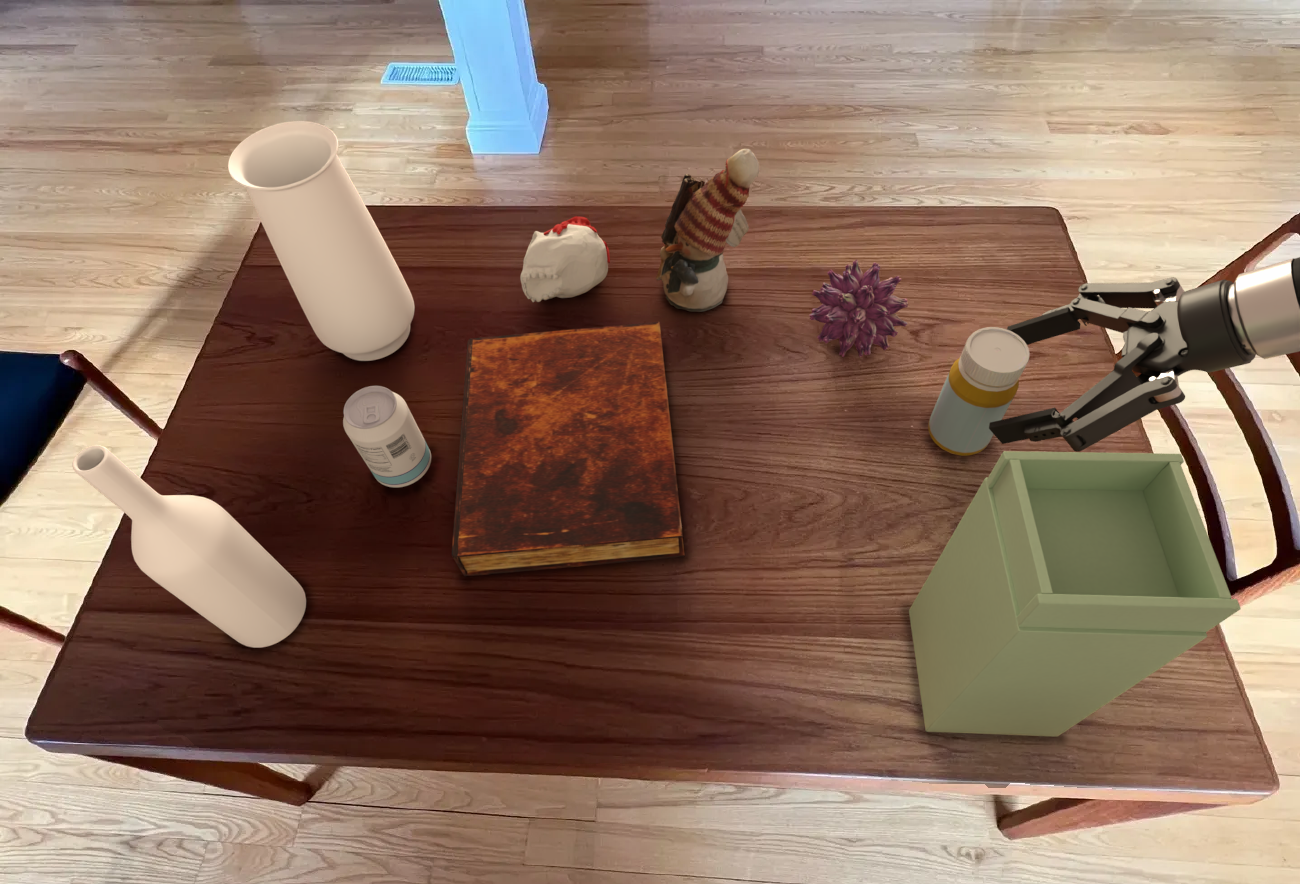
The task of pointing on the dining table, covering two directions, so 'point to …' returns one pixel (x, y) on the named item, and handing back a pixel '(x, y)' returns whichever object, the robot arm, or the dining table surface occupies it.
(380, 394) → the beverage can
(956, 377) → the bottle
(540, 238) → the white and red skull
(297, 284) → the vase
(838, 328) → the flower
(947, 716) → the stand
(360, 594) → the dining table surface
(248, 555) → the bottle
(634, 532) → the book
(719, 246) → the figurine
